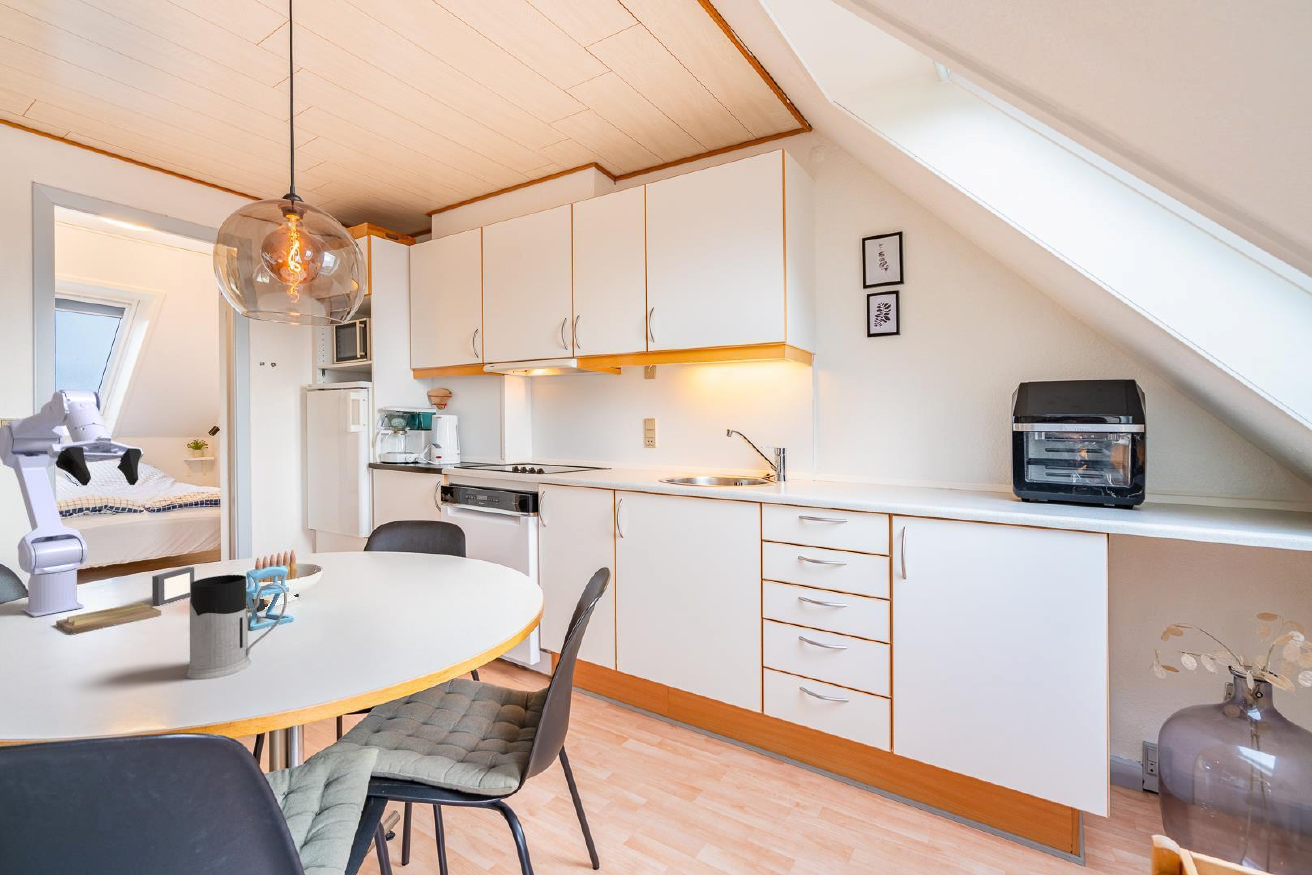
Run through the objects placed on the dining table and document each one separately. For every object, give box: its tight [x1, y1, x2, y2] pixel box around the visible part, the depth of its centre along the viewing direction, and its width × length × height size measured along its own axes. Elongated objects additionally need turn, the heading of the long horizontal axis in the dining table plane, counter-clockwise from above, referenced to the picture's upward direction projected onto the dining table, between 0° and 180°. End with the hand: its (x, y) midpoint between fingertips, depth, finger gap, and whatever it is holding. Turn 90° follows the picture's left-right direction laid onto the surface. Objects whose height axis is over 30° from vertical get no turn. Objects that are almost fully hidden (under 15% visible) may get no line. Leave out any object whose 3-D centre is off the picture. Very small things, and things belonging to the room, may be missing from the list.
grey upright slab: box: [151, 566, 195, 607], centre depth 136 cm, size 2×9×7 cm, turn 174°
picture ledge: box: [55, 601, 162, 635], centre depth 122 cm, size 10×14×2 cm
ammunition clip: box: [252, 549, 300, 613], centre depth 133 cm, size 11×2×12 cm, turn 165°
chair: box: [245, 564, 295, 631], centre depth 121 cm, size 8×8×12 cm
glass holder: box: [186, 574, 288, 680], centre depth 98 cm, size 9×14×15 cm, turn 111°
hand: (111, 482), depth 116 cm, fingers open, 7 cm apart
